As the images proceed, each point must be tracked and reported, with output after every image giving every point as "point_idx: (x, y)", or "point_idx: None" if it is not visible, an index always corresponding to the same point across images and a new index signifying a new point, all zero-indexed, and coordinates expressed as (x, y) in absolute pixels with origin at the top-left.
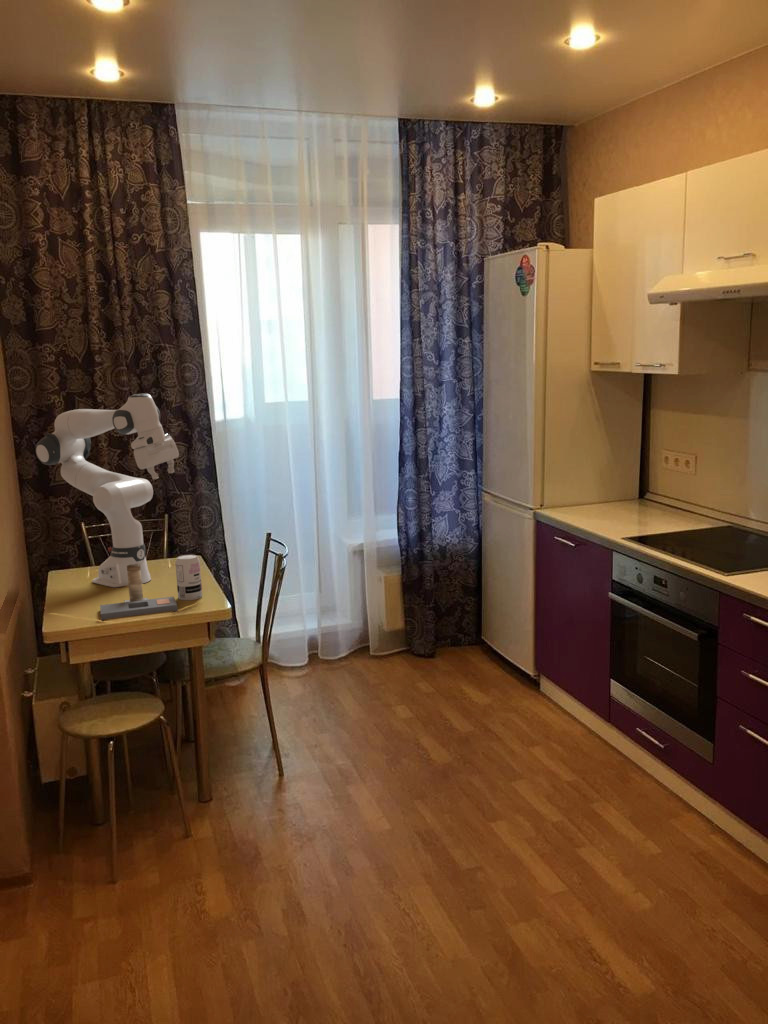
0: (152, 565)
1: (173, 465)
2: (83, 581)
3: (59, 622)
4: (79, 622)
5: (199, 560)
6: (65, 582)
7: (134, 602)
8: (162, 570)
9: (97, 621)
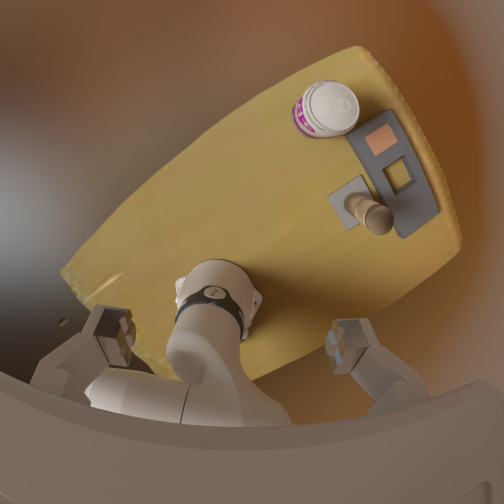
0: None
1: (69, 342)
2: None
3: (434, 263)
4: (436, 237)
5: (319, 81)
6: None
7: (388, 189)
8: (139, 277)
9: None
